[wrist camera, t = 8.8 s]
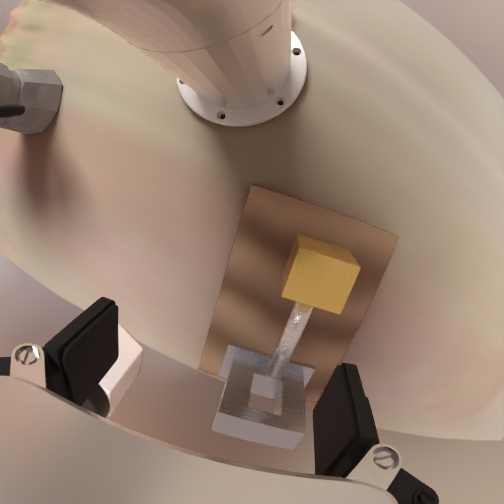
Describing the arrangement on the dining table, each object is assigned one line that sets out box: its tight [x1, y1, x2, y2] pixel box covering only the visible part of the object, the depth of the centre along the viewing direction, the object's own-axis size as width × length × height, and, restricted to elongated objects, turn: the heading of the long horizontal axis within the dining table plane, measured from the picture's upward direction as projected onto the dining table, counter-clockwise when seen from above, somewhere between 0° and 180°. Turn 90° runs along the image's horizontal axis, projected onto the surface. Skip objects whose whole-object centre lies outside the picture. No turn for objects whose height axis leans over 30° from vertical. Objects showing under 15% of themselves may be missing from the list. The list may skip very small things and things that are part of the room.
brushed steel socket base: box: [212, 342, 315, 450], centre depth 27 cm, size 5×10×10 cm, turn 73°
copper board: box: [198, 185, 398, 402], centre depth 30 cm, size 22×15×1 cm
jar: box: [81, 323, 143, 418], centre depth 29 cm, size 9×8×12 cm
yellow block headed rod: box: [266, 233, 361, 381], centre depth 25 cm, size 14×5×5 cm, turn 163°
